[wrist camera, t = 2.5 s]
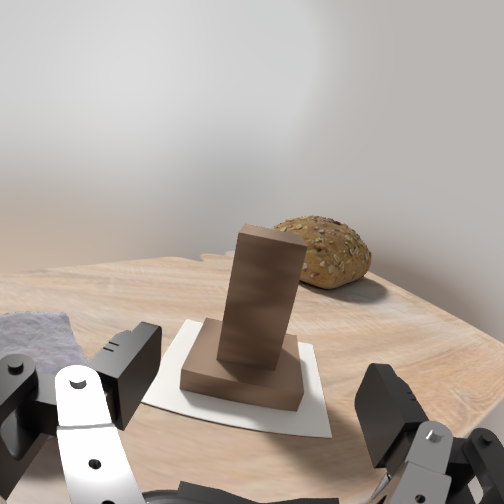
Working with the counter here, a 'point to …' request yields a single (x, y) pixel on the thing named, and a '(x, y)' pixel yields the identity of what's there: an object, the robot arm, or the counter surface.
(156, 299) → the counter surface
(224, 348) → the walnut stamp
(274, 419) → the tile
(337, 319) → the counter surface
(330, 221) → the bread
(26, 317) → the stone block
